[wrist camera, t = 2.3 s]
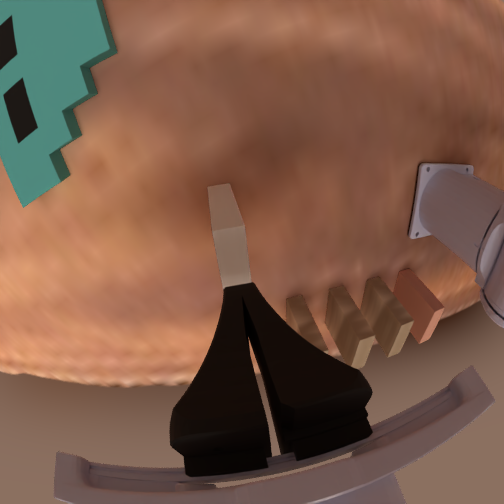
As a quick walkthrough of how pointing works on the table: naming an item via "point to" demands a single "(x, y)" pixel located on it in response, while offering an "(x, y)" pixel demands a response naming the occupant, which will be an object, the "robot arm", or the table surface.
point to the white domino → (228, 236)
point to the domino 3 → (385, 316)
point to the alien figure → (46, 84)
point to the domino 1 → (303, 322)
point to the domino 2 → (348, 327)
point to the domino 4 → (418, 304)
